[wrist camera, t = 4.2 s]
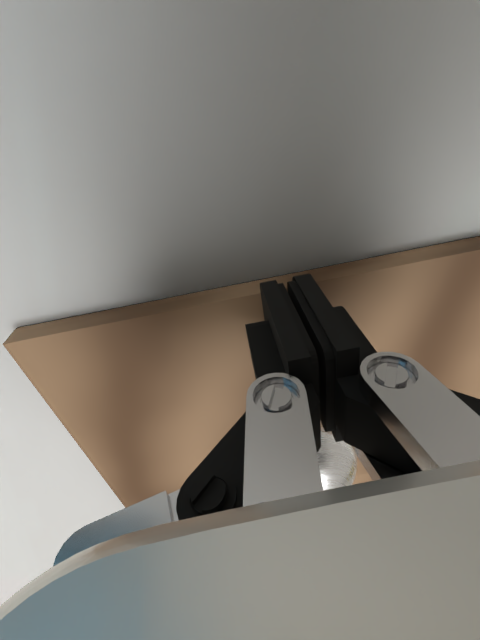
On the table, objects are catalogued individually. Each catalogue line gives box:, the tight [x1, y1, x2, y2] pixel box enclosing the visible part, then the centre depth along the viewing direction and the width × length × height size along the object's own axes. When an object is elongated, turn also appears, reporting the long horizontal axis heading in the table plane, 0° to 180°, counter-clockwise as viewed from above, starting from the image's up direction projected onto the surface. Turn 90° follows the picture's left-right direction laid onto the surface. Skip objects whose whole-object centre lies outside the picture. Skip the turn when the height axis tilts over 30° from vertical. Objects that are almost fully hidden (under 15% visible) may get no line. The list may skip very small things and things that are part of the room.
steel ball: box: [317, 421, 357, 491], centre depth 13 cm, size 4×4×4 cm
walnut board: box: [3, 236, 480, 508], centre depth 18 cm, size 20×22×1 cm
